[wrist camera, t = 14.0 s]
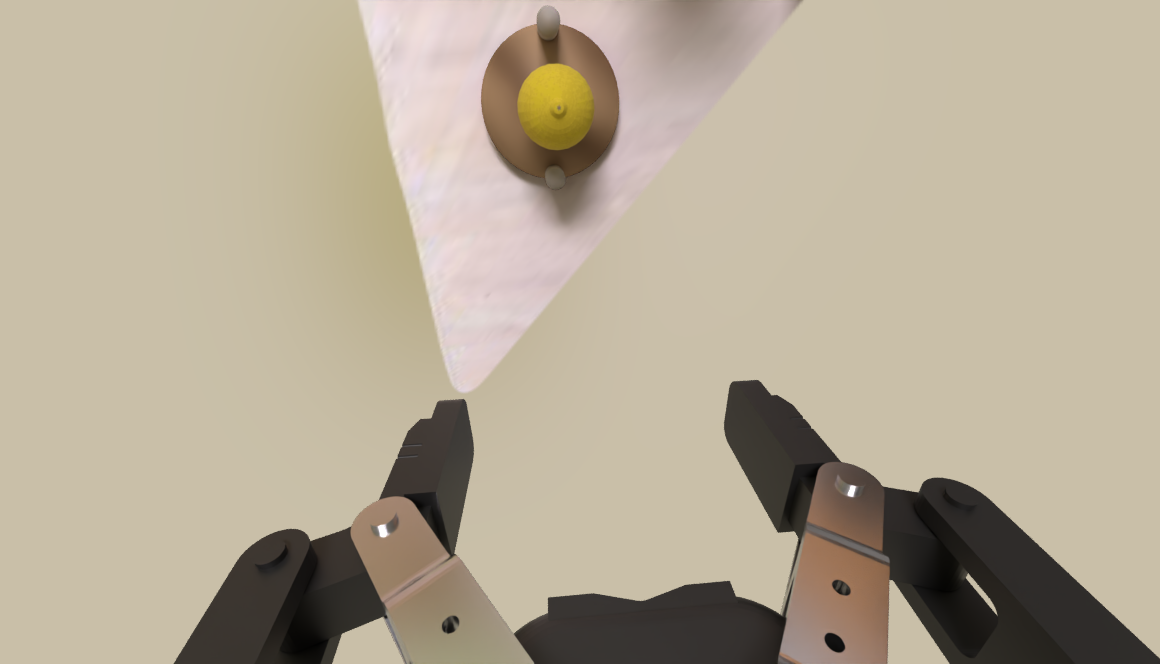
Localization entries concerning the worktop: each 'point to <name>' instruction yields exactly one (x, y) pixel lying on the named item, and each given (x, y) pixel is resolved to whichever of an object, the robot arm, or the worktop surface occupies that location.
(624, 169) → the worktop surface
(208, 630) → the robot arm
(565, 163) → the pin dish
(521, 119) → the lemon
